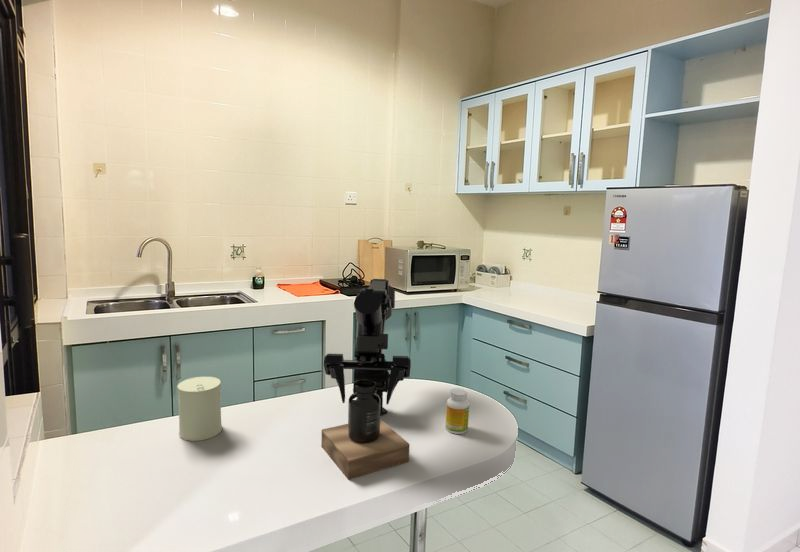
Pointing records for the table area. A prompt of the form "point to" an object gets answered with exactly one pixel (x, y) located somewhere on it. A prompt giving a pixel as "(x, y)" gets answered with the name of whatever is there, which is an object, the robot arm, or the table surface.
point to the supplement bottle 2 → (457, 411)
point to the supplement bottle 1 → (364, 412)
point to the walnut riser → (364, 450)
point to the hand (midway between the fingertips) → (365, 403)
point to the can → (199, 408)
